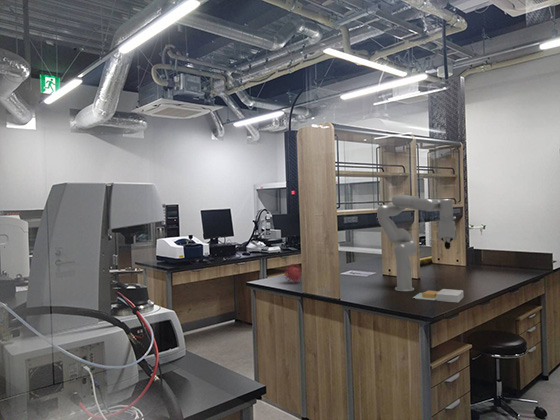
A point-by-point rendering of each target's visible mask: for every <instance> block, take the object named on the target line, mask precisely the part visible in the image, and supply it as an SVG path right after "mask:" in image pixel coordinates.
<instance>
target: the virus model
mask: <svg viewBox="0 0 560 420" xmlns="http://www.w3.org/2000/svg"><path fill="white" fill-rule="evenodd" d="M284 269H285V271H284V276H285V279H286V281H287V282H294V283H295V282H296V283H297V282H298V283H300V282H301V280H302V276H301V275H302V270H301V267H299V265H298V264H297V263H290V264H289V265H287V266H286V268H284Z"/></svg>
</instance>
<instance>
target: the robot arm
mask: <svg viewBox="0 0 560 420" xmlns="http://www.w3.org/2000/svg"><path fill="white" fill-rule="evenodd" d="M453 203H454V202H453V199H451V198H441V199H440V198H428V199H427V198H420V197H418V196H416V195H408V194H400V193H398V194H395V195H394V196H392V198H391V203H388V204H382V205H380V206H378V208H377V210H376V212H377V217H376V219H377V218H378V220H377V222H378V221H379V222H378V224H379V225H380V226H381V228H382V229H383V231H384V234H385V235H386V236H387V238H388V240H389V242H390V243H392V244H396V245H395V247H394V251H393V252H394V255H395V256H394V257H395V265H396V266H395V267H396V268H395V269H396V286H395V287H394V290H395V291H397V292H413V291H415V288H414V287H413V286H412V285H413V282H412V280H413V279H412V261H411V259H410V256H414V255H415V254H417V251H418V247H417V244H416V242H415V240H414V238H413V237H412V235H411V234H410V233H409V232H408V230H407V229H406V228H401V227H400V228H399V227H397V225H396V223H395V221H393V220H392V219H391V218H390V217H395V216H398V215H399V214H401V213H402V212H403V211H404V210H405V209H411V210H415V211H416V210H417V211H422V212H438V211H439V221H438V225H437V239H438V240H441V241H442V242H443V243H444V248H445V250H450V248H451V242H452V241H454V240H457V225H456V222H455V221H456V219H457V217H456V216H454V210H453V209H454V208H453V207H454V206H453V205H454V204H453ZM447 238H448V239H447ZM397 243H398V244H397Z"/></svg>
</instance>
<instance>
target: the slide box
mask: <svg viewBox="0 0 560 420" xmlns="http://www.w3.org/2000/svg"><path fill="white" fill-rule="evenodd" d="M439 291H440V290H439ZM439 291H438V290H437V291H436V290H426V291H424V292H421V293H422V297H425V298H433V299H434V298H436V294H437V293H438V292H439Z"/></svg>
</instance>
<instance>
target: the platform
mask: <svg viewBox="0 0 560 420" xmlns="http://www.w3.org/2000/svg"><path fill="white" fill-rule="evenodd" d="M464 296H465V295H464V290H462V289H449V288H442V289H441V290H439V292H438V293H437V294H436V300H435V301H439V302H447V303H460V301H461V300H463V298H464Z"/></svg>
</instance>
